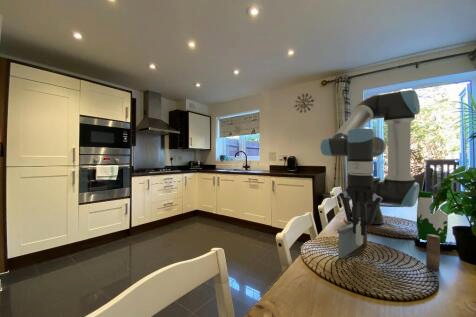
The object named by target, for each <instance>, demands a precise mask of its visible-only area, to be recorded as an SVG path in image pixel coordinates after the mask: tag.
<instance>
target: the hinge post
mask: <svg viewBox="0 0 476 317" xmlns="http://www.w3.org/2000/svg"><path fill="white" fill-rule="evenodd" d="M359 221H361V218H359ZM367 243H368V226H366V235H365V236H363V244H362V246H361V247H367V245H368V244H367Z"/></svg>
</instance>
